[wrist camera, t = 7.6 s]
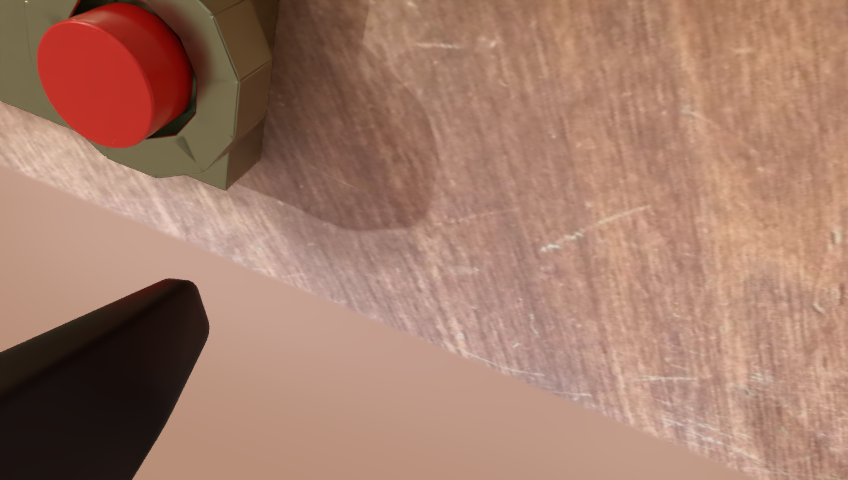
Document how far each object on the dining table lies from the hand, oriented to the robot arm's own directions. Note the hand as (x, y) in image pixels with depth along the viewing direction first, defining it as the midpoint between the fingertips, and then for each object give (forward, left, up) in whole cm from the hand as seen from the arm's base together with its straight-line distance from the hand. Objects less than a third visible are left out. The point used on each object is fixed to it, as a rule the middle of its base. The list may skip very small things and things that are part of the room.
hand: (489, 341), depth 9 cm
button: (-10, +4, -8) cm, 13 cm away
